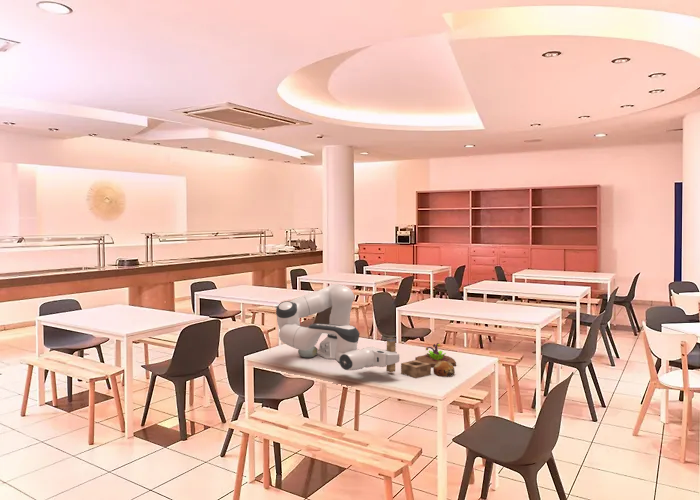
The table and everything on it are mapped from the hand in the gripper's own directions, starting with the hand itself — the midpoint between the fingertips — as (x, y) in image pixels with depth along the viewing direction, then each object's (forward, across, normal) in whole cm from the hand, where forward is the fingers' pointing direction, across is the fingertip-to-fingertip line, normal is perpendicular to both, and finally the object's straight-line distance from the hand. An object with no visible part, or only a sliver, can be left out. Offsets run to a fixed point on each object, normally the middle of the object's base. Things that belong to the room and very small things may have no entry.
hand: (392, 352), depth 248 cm
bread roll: (+19, +16, -11) cm, 27 cm away
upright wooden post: (-1, 0, -9) cm, 9 cm away
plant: (+31, 0, -11) cm, 33 cm away
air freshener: (-13, -52, -11) cm, 55 cm away
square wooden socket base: (+8, +8, -10) cm, 15 cm away
